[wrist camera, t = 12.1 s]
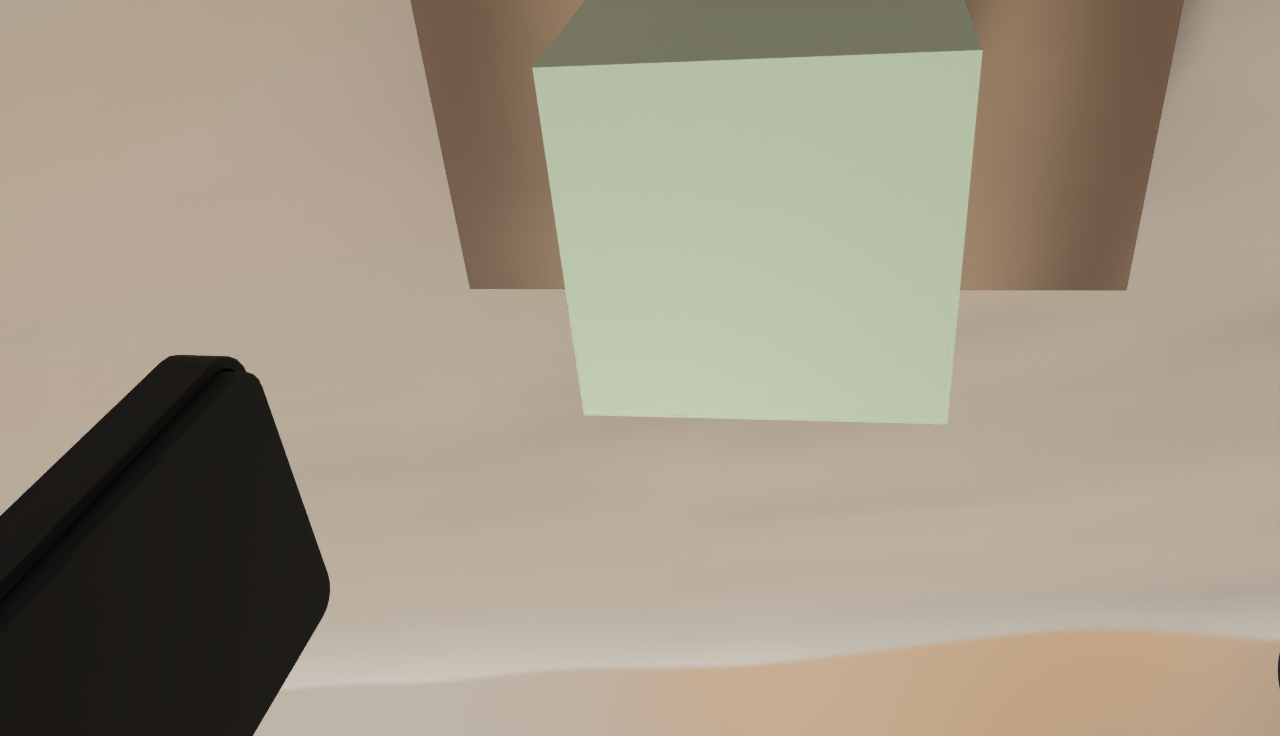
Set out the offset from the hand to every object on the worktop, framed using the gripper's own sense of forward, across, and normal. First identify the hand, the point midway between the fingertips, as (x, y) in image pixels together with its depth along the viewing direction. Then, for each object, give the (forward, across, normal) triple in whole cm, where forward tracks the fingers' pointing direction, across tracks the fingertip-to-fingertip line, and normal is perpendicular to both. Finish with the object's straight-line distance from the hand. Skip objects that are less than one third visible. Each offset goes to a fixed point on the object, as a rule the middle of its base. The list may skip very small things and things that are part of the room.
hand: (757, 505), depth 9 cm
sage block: (+12, +1, 0) cm, 13 cm away
